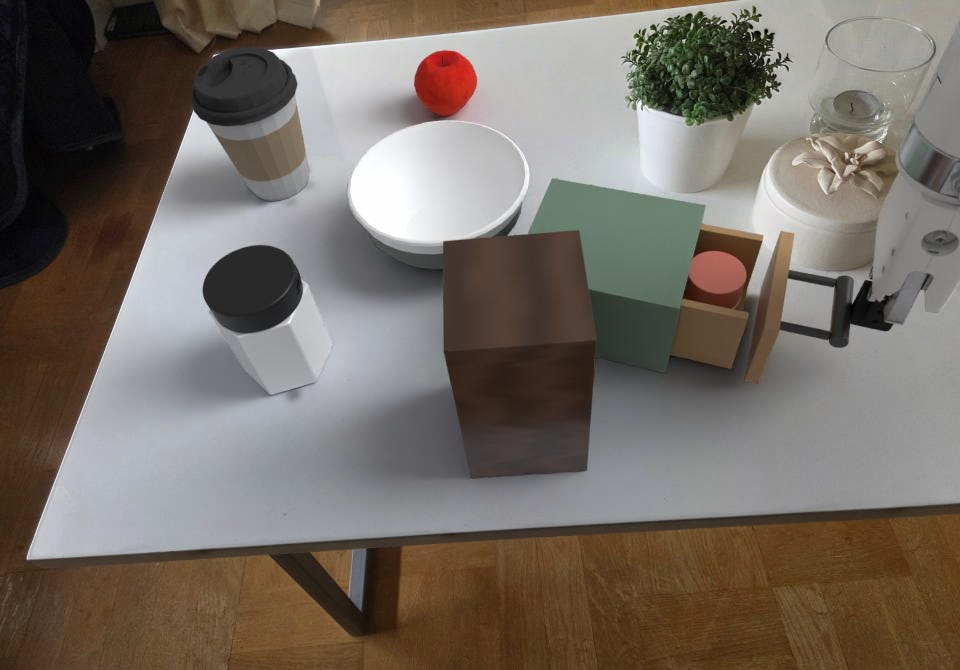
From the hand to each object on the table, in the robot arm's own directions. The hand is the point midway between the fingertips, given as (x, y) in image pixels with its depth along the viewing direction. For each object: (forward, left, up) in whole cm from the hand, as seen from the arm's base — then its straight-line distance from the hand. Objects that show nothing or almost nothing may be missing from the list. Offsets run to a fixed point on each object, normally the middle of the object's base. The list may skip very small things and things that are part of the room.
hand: (868, 320), depth 62 cm
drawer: (+11, 0, -5) cm, 12 cm away
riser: (+26, +15, -6) cm, 31 cm away
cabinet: (+23, 0, -6) cm, 23 cm away
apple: (+50, -26, -6) cm, 56 cm away
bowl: (+42, -5, -6) cm, 42 cm away
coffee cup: (+65, -8, -6) cm, 65 cm away
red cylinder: (+13, 0, -4) cm, 14 cm away
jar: (+51, +15, -6) cm, 53 cm away
